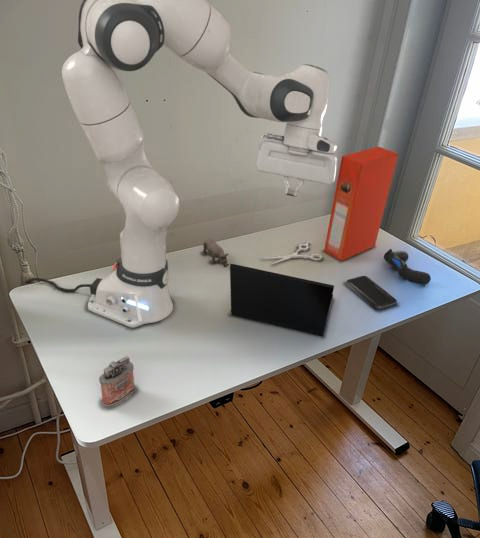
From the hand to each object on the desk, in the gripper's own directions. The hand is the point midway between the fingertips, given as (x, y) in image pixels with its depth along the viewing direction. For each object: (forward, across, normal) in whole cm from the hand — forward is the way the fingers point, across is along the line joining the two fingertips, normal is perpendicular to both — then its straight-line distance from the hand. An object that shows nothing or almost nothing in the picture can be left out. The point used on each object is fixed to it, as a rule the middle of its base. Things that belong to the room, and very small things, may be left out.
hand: (290, 195), depth 130 cm
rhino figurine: (+27, -21, +14) cm, 37 cm away
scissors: (+24, +1, +26) cm, 35 cm away
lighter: (+42, -22, -46) cm, 66 cm away
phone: (+26, +27, +15) cm, 40 cm away
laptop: (+30, +4, -1) cm, 30 cm away
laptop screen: (+23, +4, -15) cm, 27 cm away
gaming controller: (+22, +36, +30) cm, 52 cm away
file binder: (+20, +18, +39) cm, 47 cm away
